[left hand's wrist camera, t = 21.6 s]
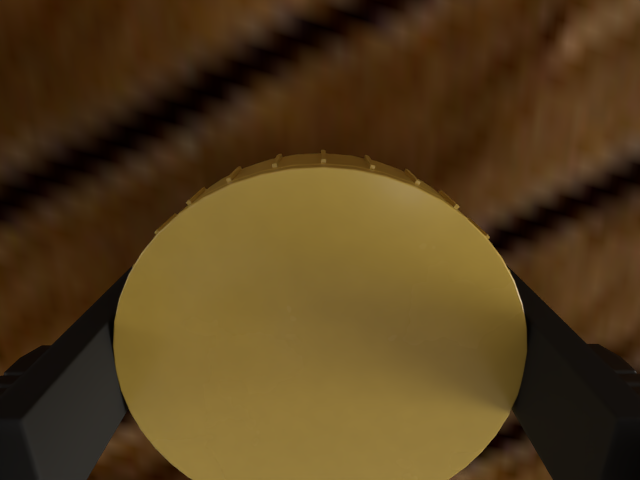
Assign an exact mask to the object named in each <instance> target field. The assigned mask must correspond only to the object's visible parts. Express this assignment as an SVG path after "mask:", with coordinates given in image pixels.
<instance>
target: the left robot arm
mask: <svg viewBox="0 0 640 480" xmlns="http://www.w3.org/2000/svg"><path fill="white" fill-rule="evenodd" d="M506 266H507V265H506ZM132 267H133V266H132ZM132 267H131V268H130V269H129V270H128V271H127V272H126V273H125V274H124V275H123V276H122V277H121V278H120V279H119V280H118V281H117V282H116V283H115V284H114V285H112V286H111V287H110V288H109V289H108V290H107V291H106V292H105V293H104V294H103V295H102V296H101V297H100V298H99V299H98V300H97V301H96V302H95V303H94V304H93V305H92V306H91V307H90V308H89V309H88V310H87V311H86V312H85V313H84V314H83V315H82V316H81V317H80V318H79V319H78V320H77V321H76V322H75V323H74V324H73V325H72V326H71V327H70V328H69V329H68V330H67V331H66V332H65V333H64V334H63V335H62V336H61V337H60V338H59V339H57V340H56V341H55V342H54V343H53V344H52V345H42V346H40V347H38V348H37V349H35V350H33V351H31V352H30V353H28V354H26V355H24V356H23V357H21V358H19V359H18V360H17V361H16V362H15V363H14V364H13V365H12V366H11V367H10V368H9V369H8V370H6V371H5V372H4V375H3V376H0V480H87V478H88V476H89V475H90V473H91V471H92V470H93V468H94V466H95V464H96V463H97V461H98V459H99V458H100V456H101V454H102V453H103V451H104V449H105V447H106V446H107V444H108V442H109V441H110V439H111V437H112V435H113V434H114V432H115V430H116V429H117V427H118V425H119V424H120V422H121V420H122V418H123V417H124V415H125V413H126V412H127V410H128V406H127V404H126V401H125V399H124V397H123V394H122V392H121V389H120V385H119V381H118V377H117V373H116V368H115V362H114V352H113V334H114V320H115V316H116V311H117V306H118V302H119V298H120V295H121V293H122V290H123V287H124V285H125V282H126V280H127V277H128V275H129V273H130V271H131V270H132ZM507 268H508V269H509V270H510V273H511V275H512V277H513V279H514V281H515V284H516V287H517V289H518V292H519V295H520V298H521V301H522V304H523V309H524V315H525V320H526V326H527V356H526V361H525V367H524V372H523V377H522V381H521V386H520V389H519V393H518V396H517V398H516V400H515V402H514V404H513V407H512V410H513V412H514V414H515V416H516V417H517V419H518V421H519V422H520V424H521V426H522V427H523V429H524V431H525V433H526V434H527V436H528V438H529V439H530V441H531V443H532V445H533V446H534V448H535V450H536V451H537V453H538V455H539V456H540V458H541V460H542V462H543V463H544V465H545V467H546V468H547V470H548V472H549V474H550V475H551V477H552V479H553V480H640V374H636V371H635V370H634V369H633V368H632V367H631V366H630V365H629V364H628V363H627V362H626V361H624V360H623V359H622V358H621V357H620V356H618V355H617V354H615V353H613V352H611V351H610V350H608V349H606V348H604V347H602V346H601V345H599V344H586V343H585V342H584V341H583V340H582V339H581V338H580V337H579V336H578V335H577V334H576V333H575V332H574V331H573V330H572V329H571V328H570V327H569V326H568V325H567V324H566V323H565V322H564V321H563V320H562V319H561V318H560V317H559V316H558V315H557V314H556V313H555V312H554V311H553V310H552V309H551V308H550V307H549V306H548V305H547V304H546V303H545V302H543V301H542V300H541V299H540V298H539V297H538V296H537V295H536V294H535V293H534V292H533V291H532V290H531V289H530V288H529V287H528V286H527V285H526V284H525V283H524V282H523V281H522V280H521V279H520V278H519V277H518V276H517V275H516V274H515V273H514V272H513V271H512V270H511V269H510V268H509V267H508V266H507Z"/></svg>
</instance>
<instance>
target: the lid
mask: <svg viewBox="0 0 640 480" xmlns="http://www.w3.org/2000/svg"><path fill="white" fill-rule="evenodd" d="M186 204H187V206H186V207H185V208H184V209H183V210H182V211H181V212H179V213H178V214H176V213H175V214H174V215H172V216H171V217H170V218H169V219H168V220H167V221H166V222H165V223H164V224H162V225H161V226H160V227H159V228H158V229H157V230H156V231H155V232H154V233H155V234H156V236H155V237H154V238H153V239H152V240H151V242H150V243H149V244H148V245H147V247H146V248H145V249H144V250H143V252H142V253H141V254H140V256H139V258H138V260H137V261H136V262H135V263H134V265H133V267H132V270H131V271H130V273H129V275H128V277H127V280H126V282H125V285H124V287H123V290H122V293H121V295H120V298H119V302H118V306H117V311H116V316H115V320H114V334H113V352H114V362H115V368H116V373H117V377H118V381H119V385H120V389H121V392H122V394H123V397H124V399H125V401H126V404H127V406H128V409H129V411H130V413H131V414H132V416H133V418H134V419H135V421H136V423H137V424H138V426H139V428H140V429H141V431H142V432H143V433H144V435H145V436H146V437H147V438H148V440H149V441H150V442H151V444H152V445H153V446H154V447H155V448H156V449H157V450H158V451H159V452H160V453H161V454H162V455H163V456H164V457H165V458H166V459H167V460H168V461H169V462H170V463H171V464H172V465H173V466H175V467H176V468H177V469H178V470H180V471H181V472H182V473H184V474H185V475H186V476H187V477H189V478H190V479H192V480H448V479H450V478H451V477H453V476H454V475H455V474H457V473H458V472H459V471H461V470H462V469H463V468H465V467H466V466H467V465H468V464H469V463H470V462H471V461H472V460H473V459H475V458H476V457H477V456H478V455H479V454H480V453H481V452H482V451H483V450H484V449H485V447H486V446H487V445H488V444H489V443H490V441H491V440H492V439H493V438H494V437H495V435H496V434H497V433H498V431H499V429H500V428H501V426H502V425H503V423H504V422H505V420H506V418H507V417H508V415H509V413H510V411H511V409H512V407H513V404H514V402H515V400H516V398H517V396H518V393H519V389H520V386H521V381H522V377H523V372H524V367H525V361H526V356H527V326H526V320H525V315H524V309H523V304H522V301H521V298H520V295H519V292H518V289H517V287H516V284H515V281H514V279H513V277H512V275H511V273H510V270H509V269H508V268H507V266H506V264H505V262H504V260H503V258H502V257H501V256H500V254H499V253H498V252H497V250H496V249H495V248H494V246H493V245H492V244H491V242H490V241H489V240H488V239H489V238H490V237H489V236H488V234H486V233H485V232H484V231H483V230H482V229H481V228H480V227H479V226H478V225H477V224H475V223H474V222H473V221H472V220H471V219H470V218H469V217H468V218H466V217H465V216H464V215H463V214H462V213H461V212H460V211H459V210H458V208H459V206H458V205H457V204H456V203H455V202H454V201H453V200H452V199H451V198H450V197H448V196H447V195H446V194H445V193H444V192H443V191H441V190H440V191H439V192H437V191H435V190H434V189H433V188H431V187H430V186H428V185H427V184H426V183H424V182H423V181H421V180H419V179H417V178H416V177H415V176H414V175H413V174H412V173H411V172H410V171H409V170H407V169H405V170H404V171H402V170H400V169H397V168H394V167H391V166H389V165H386V164H383V163H380V162H378V161H374V160H371V159H370V157H369V156H368V155H364V158H360V157H355V156H351V155H340V154H328V153H326V151H325V150H321V153H316V154H296V155H291V156H286V157H282V154H278V155H277V156H276V158H275V159H270V160H267V161H264V162H261V163H257V164H254V165H251V166H248V167H245V168H243V169H242V168H241V166H239V167H237V168H236V169H235V170H234V171H233V172H232V173H231V174H230V175H229V176H227V177H225V178H223V179H221V180H219V181H218V182H216V183H215V184H213V185H212V186H211V187H209V188H208V189H206V188H205V187H203V188H201V189H200V190H199V191H198V192H197V193H196V194H195V195H194V196H192V197H191V198H190V199H189V200H188V201H187V202H186Z"/></svg>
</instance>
